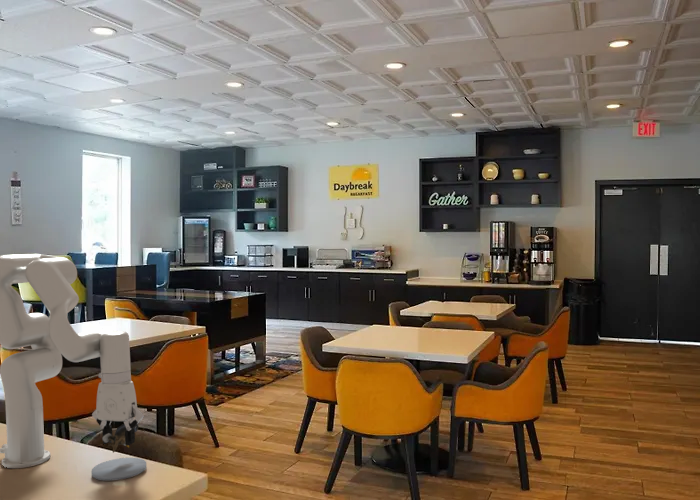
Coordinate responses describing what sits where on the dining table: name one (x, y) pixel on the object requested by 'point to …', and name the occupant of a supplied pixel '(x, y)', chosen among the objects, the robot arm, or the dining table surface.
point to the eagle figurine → (117, 437)
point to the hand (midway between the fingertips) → (118, 442)
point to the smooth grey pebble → (118, 469)
